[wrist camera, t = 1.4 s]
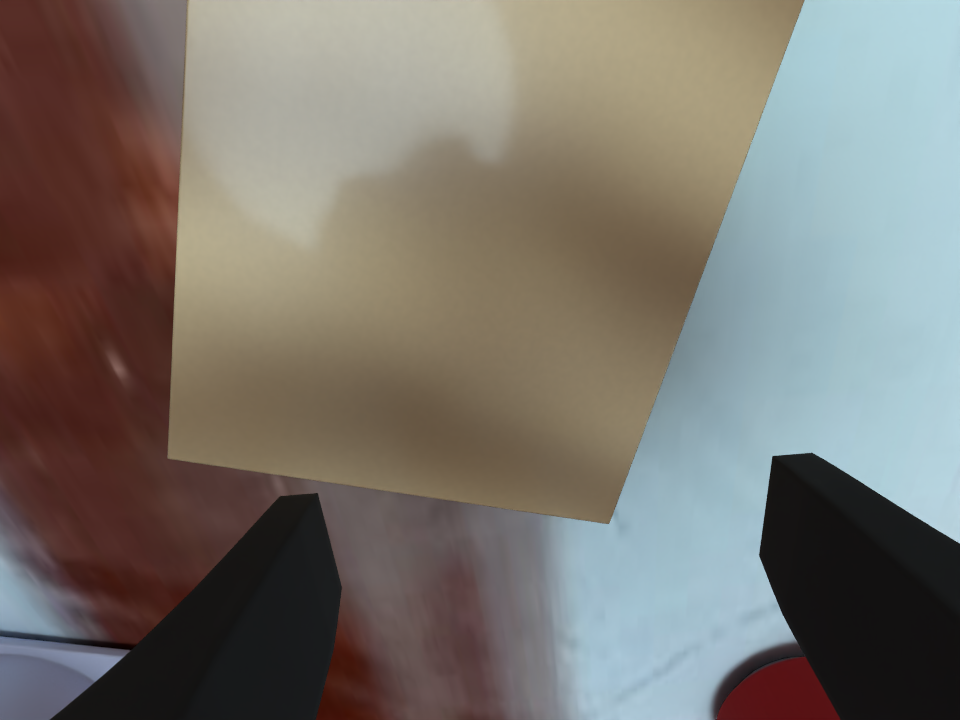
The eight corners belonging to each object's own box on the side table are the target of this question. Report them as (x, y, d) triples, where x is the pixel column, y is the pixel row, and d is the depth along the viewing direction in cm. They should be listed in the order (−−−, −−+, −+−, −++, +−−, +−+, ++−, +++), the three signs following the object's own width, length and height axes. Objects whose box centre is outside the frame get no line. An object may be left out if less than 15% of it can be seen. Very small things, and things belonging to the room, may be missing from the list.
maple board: (599, 497, 23) (609, 525, 21) (184, 433, 21) (166, 459, 19) (831, -152, 15) (870, -173, 14) (226, -349, 13) (203, -398, 12)
